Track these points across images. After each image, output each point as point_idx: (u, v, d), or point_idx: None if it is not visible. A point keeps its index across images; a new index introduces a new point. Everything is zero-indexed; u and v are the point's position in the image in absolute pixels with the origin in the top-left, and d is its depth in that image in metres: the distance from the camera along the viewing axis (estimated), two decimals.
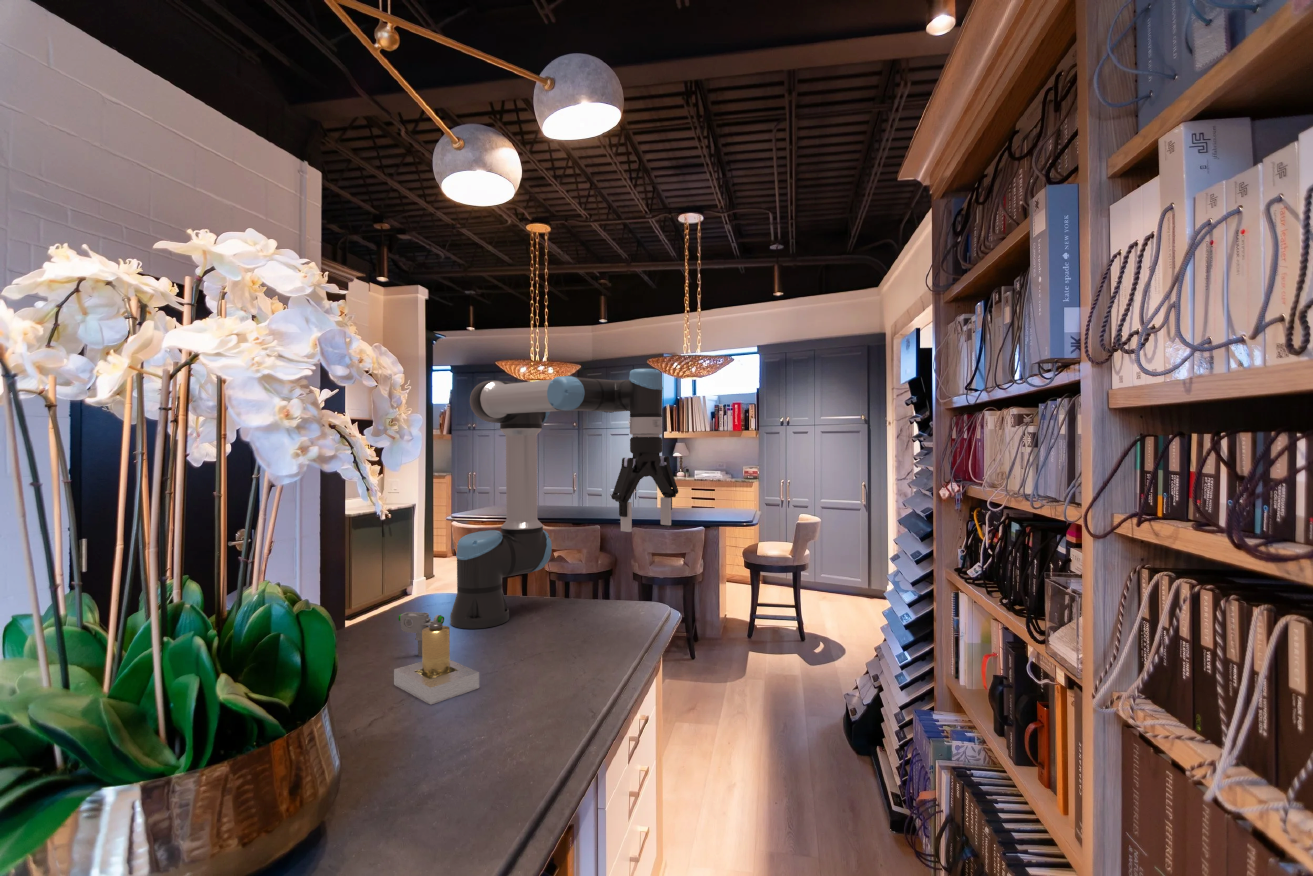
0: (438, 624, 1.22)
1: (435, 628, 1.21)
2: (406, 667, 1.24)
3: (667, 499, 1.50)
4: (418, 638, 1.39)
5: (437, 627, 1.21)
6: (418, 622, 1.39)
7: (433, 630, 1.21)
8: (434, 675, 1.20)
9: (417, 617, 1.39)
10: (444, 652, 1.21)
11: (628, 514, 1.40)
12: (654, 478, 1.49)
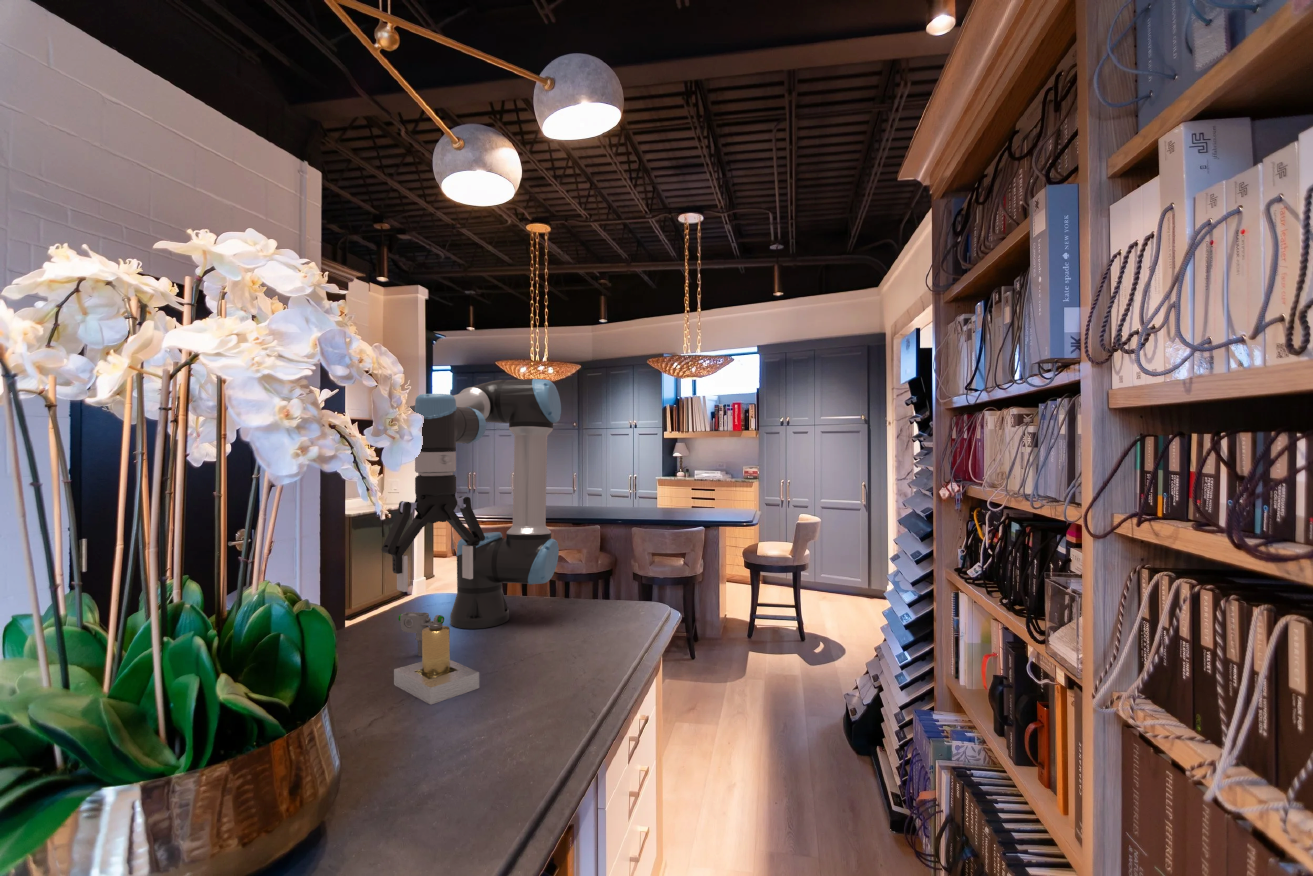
0: (438, 624, 1.22)
1: (435, 628, 1.21)
2: (406, 667, 1.24)
3: (468, 548, 1.26)
4: (418, 638, 1.39)
5: (437, 627, 1.21)
6: (418, 622, 1.39)
7: (433, 630, 1.21)
8: (434, 675, 1.20)
9: (417, 617, 1.39)
10: (444, 652, 1.21)
11: (403, 570, 1.16)
12: (450, 523, 1.25)
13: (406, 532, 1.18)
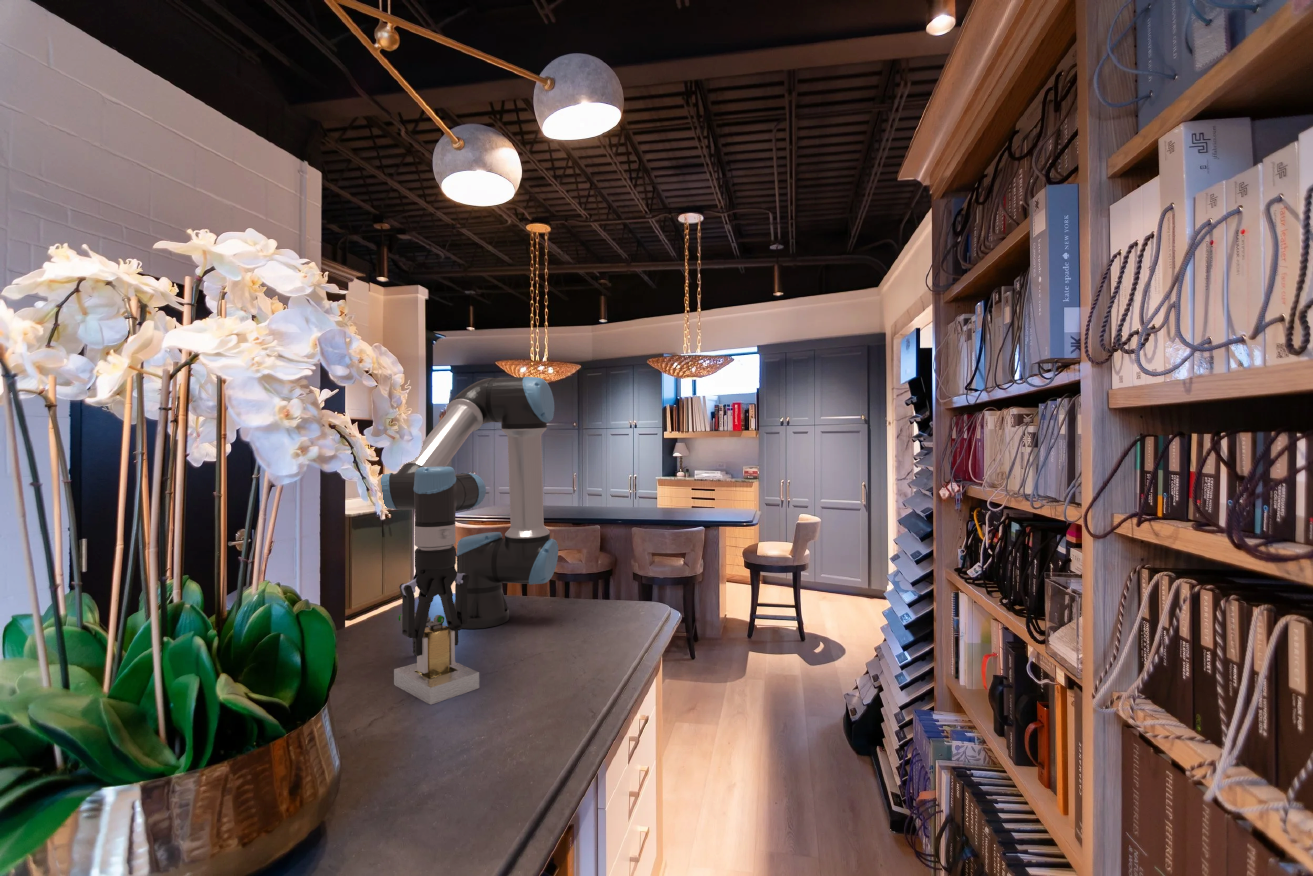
0: (438, 624, 1.22)
1: (435, 628, 1.21)
2: (406, 667, 1.24)
3: None
4: None
5: (437, 627, 1.21)
6: None
7: (433, 630, 1.21)
8: (434, 675, 1.20)
9: None
10: (444, 652, 1.21)
11: (423, 652, 1.19)
12: (442, 599, 1.24)
13: (417, 612, 1.20)
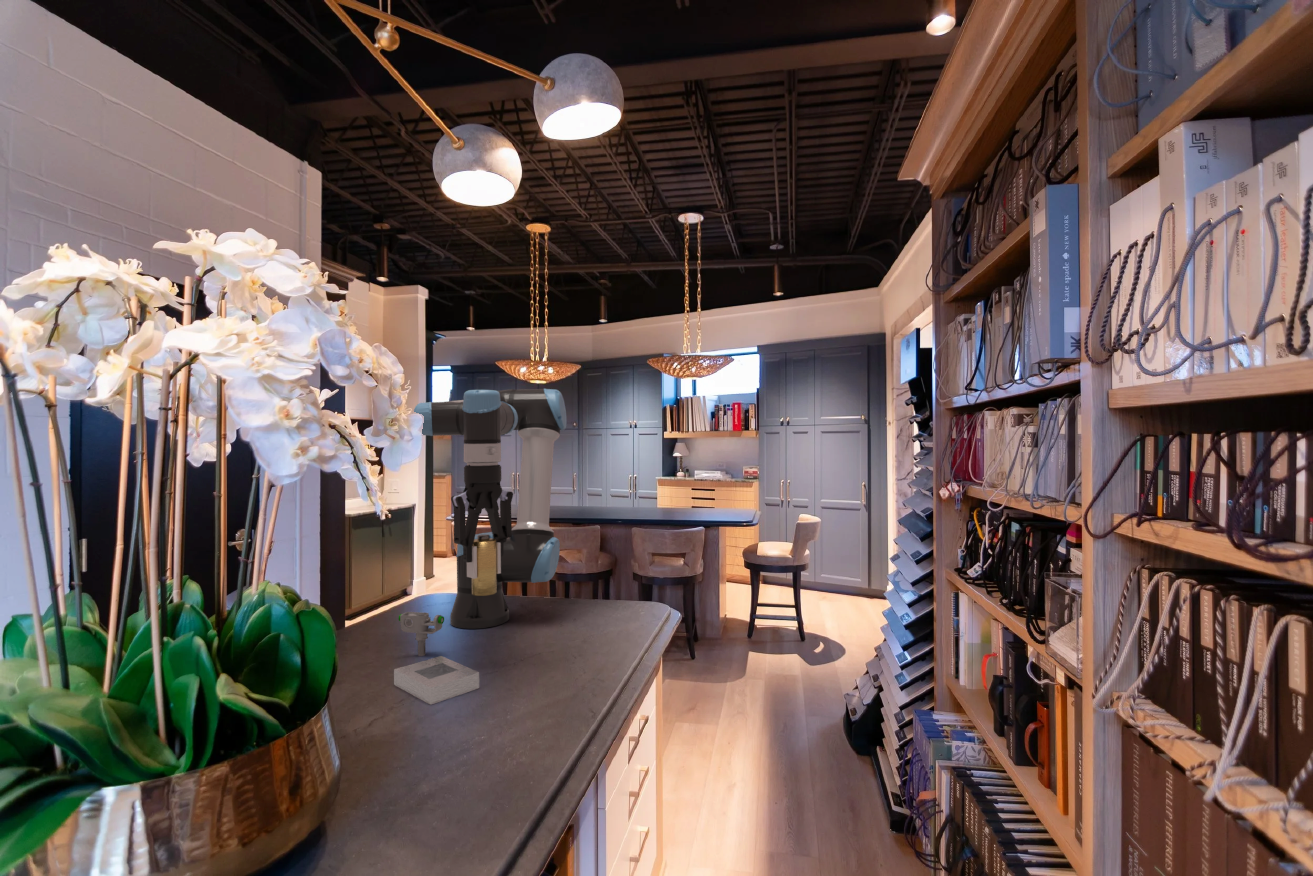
0: (486, 535, 1.32)
1: (483, 538, 1.31)
2: (406, 667, 1.24)
3: (496, 544, 1.34)
4: (418, 638, 1.39)
5: (485, 537, 1.31)
6: (418, 622, 1.39)
7: (481, 540, 1.31)
8: (483, 581, 1.30)
9: (417, 617, 1.39)
10: (492, 560, 1.31)
11: (473, 559, 1.29)
12: (488, 513, 1.34)
13: (467, 523, 1.30)
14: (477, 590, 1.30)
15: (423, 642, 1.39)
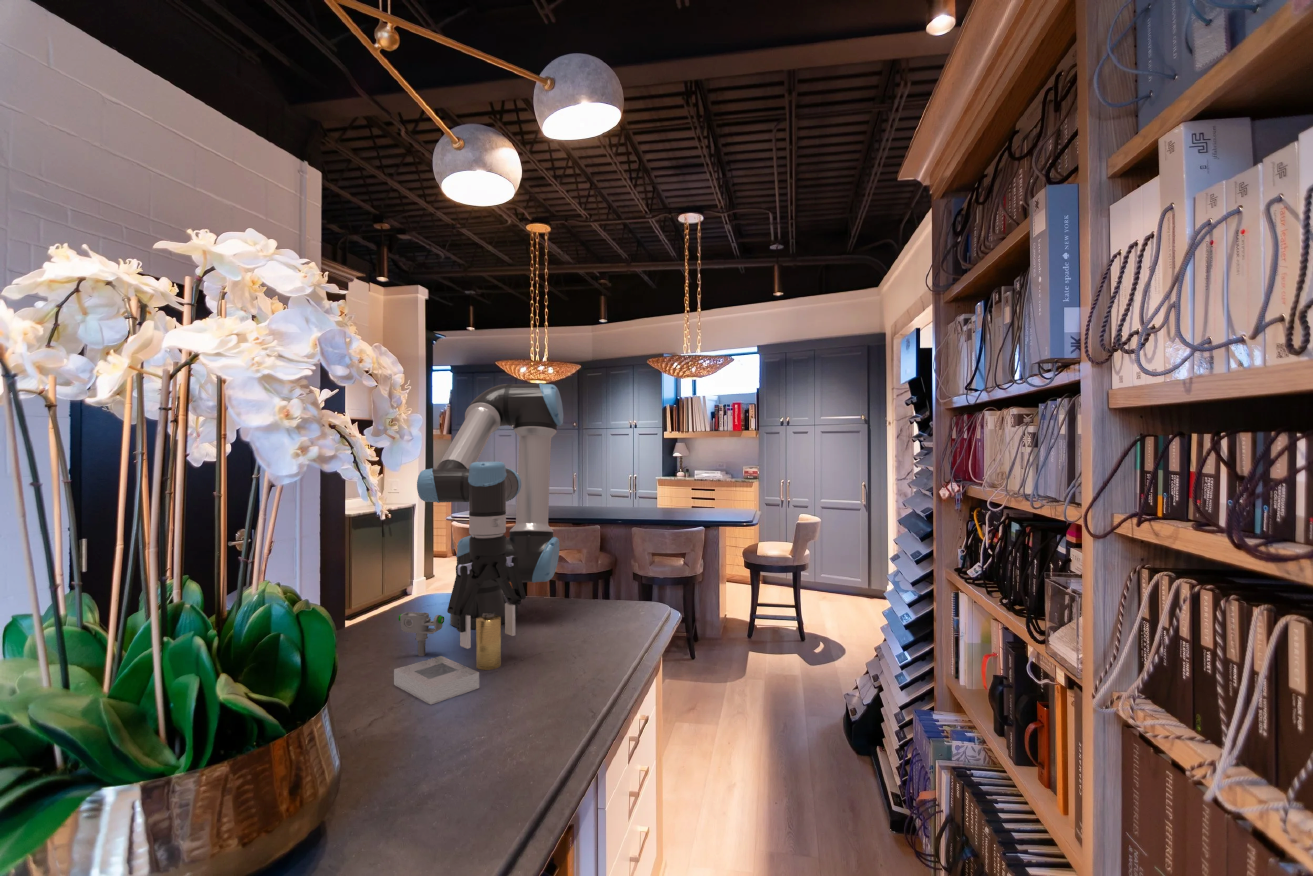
0: (490, 613, 1.33)
1: (488, 617, 1.32)
2: (406, 667, 1.24)
3: (510, 607, 1.36)
4: (418, 638, 1.39)
5: (490, 616, 1.32)
6: (418, 622, 1.39)
7: (486, 619, 1.32)
8: (488, 660, 1.31)
9: (417, 617, 1.39)
10: (497, 639, 1.32)
11: (466, 629, 1.28)
12: (498, 581, 1.36)
13: (465, 592, 1.30)
14: (482, 669, 1.31)
15: (423, 642, 1.39)
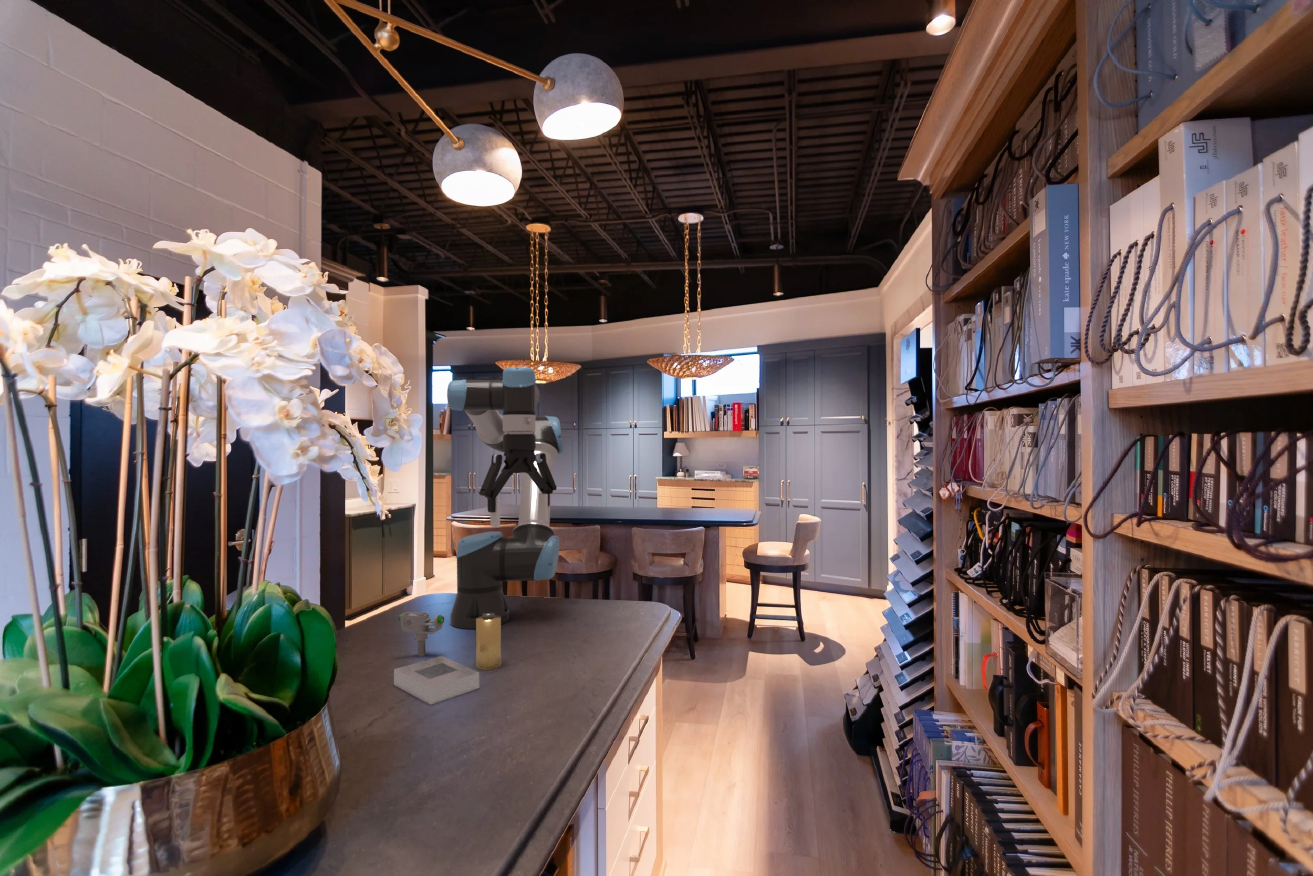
0: (490, 613, 1.33)
1: (488, 617, 1.32)
2: (406, 667, 1.24)
3: (543, 495, 1.53)
4: (418, 638, 1.39)
5: (490, 616, 1.32)
6: (418, 622, 1.39)
7: (486, 619, 1.32)
8: (488, 660, 1.31)
9: (417, 617, 1.39)
10: (497, 639, 1.32)
11: (496, 510, 1.43)
12: (530, 475, 1.52)
13: (497, 479, 1.45)
14: (482, 669, 1.31)
15: (423, 642, 1.39)
